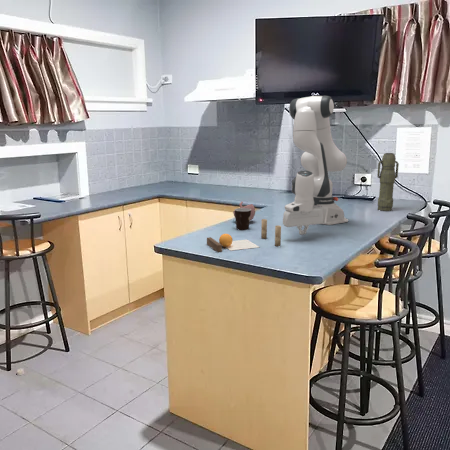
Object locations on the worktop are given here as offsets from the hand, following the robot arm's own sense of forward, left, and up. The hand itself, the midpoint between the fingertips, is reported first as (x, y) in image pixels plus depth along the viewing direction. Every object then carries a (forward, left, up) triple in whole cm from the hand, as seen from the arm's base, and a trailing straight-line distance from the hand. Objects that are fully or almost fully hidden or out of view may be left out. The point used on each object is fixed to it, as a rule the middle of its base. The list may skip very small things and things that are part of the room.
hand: (302, 234), depth 223 cm
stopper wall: (+45, 0, -2) cm, 45 cm away
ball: (+40, 0, +1) cm, 40 cm away
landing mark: (+33, 0, -2) cm, 33 cm away
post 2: (+17, +7, -2) cm, 18 cm away
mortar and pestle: (+12, -42, -2) cm, 44 cm away
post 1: (+17, -7, -2) cm, 19 cm away
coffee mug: (+20, -28, -2) cm, 34 cm away
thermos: (-83, -41, -2) cm, 93 cm away
